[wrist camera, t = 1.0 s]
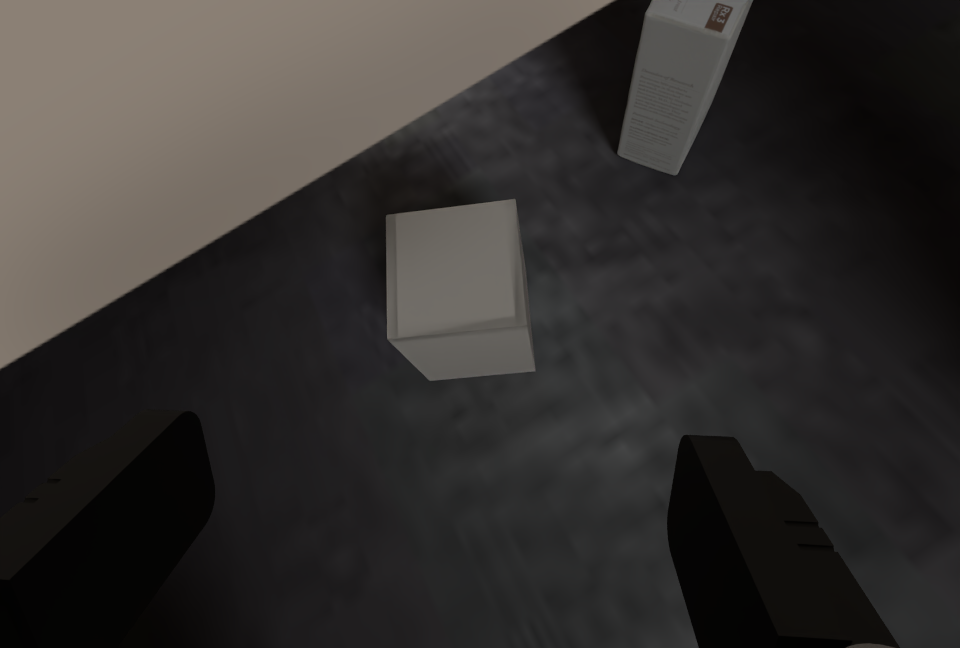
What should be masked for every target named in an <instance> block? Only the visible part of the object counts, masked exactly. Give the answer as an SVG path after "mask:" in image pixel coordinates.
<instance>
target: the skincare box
mask: <svg viewBox="0 0 960 648" xmlns="http://www.w3.org/2000/svg"><path fill="white" fill-rule="evenodd" d="M752 2H753V0H652V1H651V3H650V5H649V7H648V9H647V11H646V13H645V16H644V22H643V27H642V32H641V38H640V42H639V46H638V50H637V55H636V60H635V65H634V69H633V74H632V80H631V85H630V90H629V95H628V99H627V105H626V110H625V115H624V120H623V125H622V130H621V136H620V141H619V146H618V151H617V154H618V155H619V156H621V157H623V158H626V159H628V160H631V161H633V162H636V163H639V164H641V165H644V166H647V167H650V168H653V169H655V170H658V171H661V172H664V173H668V174H671V175H677V174H678V172H679V170H680V168H681V166H682V164H683V162H684V160H685V158H686V156H687V154H688V152H689V150H690V148H691V146H692V144H693V142H694V140H695V137H696V135H697V133H698V131H699V129H700V127H701V125H702V123H703V121H704V119H705V116H706V114H707V112H708V110H709V108H710V105H711V103H712V101H713V98H714V96H715V94H716V91H717V89H718V86H719V84H720V81H721V79H722V76H723V74H724V71H725V69H726V66H727V64H728V61H729V59H730V56H731V54H732V51H733V49H734V46H735V44H736V41H737V39H738V36H739V34H740V31H741V29H742V26H743V24H744V21H745V19H746V16H747V14H748V11H749V9H750V7H751V4H752Z"/></svg>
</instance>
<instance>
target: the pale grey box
mask: <svg viewBox="0 0 960 648" xmlns="http://www.w3.org/2000/svg"><path fill="white" fill-rule="evenodd" d="M386 270H387V339H388V340H389V341H390V342H391V343H392V344H393V345H394V346H395V347H396V348H397V349H398V350H399V351H400V352H401V353H402V354H403V355H404V356H405V357H406V358H407V359H408V360H409V361H410V362H411V363H412V364H413V365H414V366H415V367H416V368H417V369H418V370H419V371H420V372H421V373H422V374H423V375H424V376H425V377H426V378H427V379H428V380H429V381H433V380H444V379H455V378H466V377H477V376H488V375H499V374H510V373H521V372H532V371H535V362H534V351H533V340H532V330H531V319H530V309H529V298H528V287H527V277H526V268H525V262H524V255H523V248H522V241H521V234H520V228H519V221H518V214H517V207H516V200H515V199H511V200H503V201H495V202H487V203H479V204H471V205H463V206H455V207H447V208H439V209H431V210H423V211H414V212H406V213H398V214H390V215H386Z"/></svg>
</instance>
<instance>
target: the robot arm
mask: <svg viewBox="0 0 960 648" xmlns="http://www.w3.org/2000/svg"><path fill="white" fill-rule="evenodd" d="M214 500H215V485H214V480H213V475H212V471H211V466H210V462H209V457H208V453H207V449H206V444H205V440H204V435H203V431H202V426H201V423H200V420H199V418H198V416H197V415H196V414H195V413H193V412H191V411H171V410H149V409H147V410H143V411H141V412H140V413H138V414H137V415H136V416H135V417H133V418H132V419H131V420H130V421H129V422H128V423H126V424H125V425H124V426H123V427H122V428H121V429H119V430H118V431H117V432H116V433H115V434H114V435H112V436H111V437H110V438H108V439H106V440H104V441H102V442H100V443H98V444H96V445H94V446H93V447H91V448H89V449H87V450H85V451H83V452H81V453H79V454H78V455H76V456H74V457H73V458H72V459H70V460H69V461H68V462H67V463H66V464H64V465H63V466H62V467H61V468H60V469H58V470H57V471H56V472H55V473H54V474H52V475H51V476H50V477H49V478H48V481H47V483H42V484H40V485H39V486H38V487H37V488H36V489H34V490H33V491H32V492H31V493H30V494H29V495H27V496H26V497H25V501H24V502H23V503H18V504H17V505H15V506H14V507H13V508H12V509H11V510H9V511H8V512H7V513H6V514H5V515H3V516H2V517H1V518H0V648H117V647H118V645H119V644H120V642H121V641H122V640H123V638H124V637H125V635H126V634H127V633H128V631H129V630H130V629H131V627H132V626H133V624H134V623H135V622H136V620H137V619H138V617H139V616H140V615H141V613H142V612H143V611H144V609H145V608H146V606H147V605H148V604H149V602H150V601H151V599H152V598H153V597H154V595H155V594H156V593H157V591H158V590H159V588H160V587H161V586H162V584H163V583H164V581H165V580H166V579H167V577H168V576H169V575H170V573H171V572H172V570H173V569H174V568H175V566H176V565H177V563H178V562H179V561H180V559H181V558H182V557H183V555H184V554H185V552H186V551H187V550H188V548H189V547H190V545H191V544H192V543H193V541H194V540H195V539H196V537H197V536H198V534H199V533H200V532H201V530H202V529H203V527H204V526H205V525H206V523H207V521H208V519H209V517H210V515H211V513H212V509H213V505H214ZM667 531H668V542H669V548H670V552H671V556H672V559H673V563H674V566H675V569H676V573H677V576H678V579H679V583H680V586H681V589H682V593H683V596H684V599H685V603H686V606H687V609H688V613H689V616H690V619H691V623H692V626H693V630H694V633H695V636H696V640H697V643H698V646H699V648H900V647H899V645H898V644H897V642H896V641H895V639H894V638H893V636H892V635H891V633H890V632H889V630H888V629H887V627H886V626H885V624H884V622H883V621H882V619H881V618H880V616H879V615H878V613H877V612H876V610H875V609H874V607H873V606H872V604H871V602H870V601H869V599H868V598H867V596H866V595H865V593H864V592H863V590H862V589H861V587H860V586H859V584H858V582H857V581H856V579H855V578H854V576H853V575H852V573H851V572H850V570H849V569H848V567H847V566H846V564H845V563H844V561H843V559H842V558H841V556H840V555H839V553H838V552H834V548H833V547H834V546H833V544H832V543H831V541H830V539H829V538H828V536H827V535H826V533H825V532H824V530H823V529H822V528H819V526H818V521H817V520H816V518H815V516H814V515H813V513H812V512H811V510H810V509H809V507H808V506H807V504H806V503H805V501H804V500H803V498H802V496H801V495H800V494H799V493H797V492H796V491H795V490H794V489H793V488H791V487H790V486H789V485H788V484H786V483H785V482H784V481H783V480H781V479H780V478H779V477H778V476H777V475H775V474H774V473H773V472H772V471H755V470H754V468H753V466H752V465H751V463H750V461H749V460H748V458H747V456H746V454H745V453H744V451H743V449H742V447H741V446H740V444H739V442H738V441H737V440H736V439H735V438H734V437H721V436H699V435H684V436H683V437H682V438H681V441H680V444H679V448H678V454H677V460H676V466H675V472H674V478H673V484H672V490H671V496H670V502H669V508H668V517H667Z"/></svg>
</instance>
